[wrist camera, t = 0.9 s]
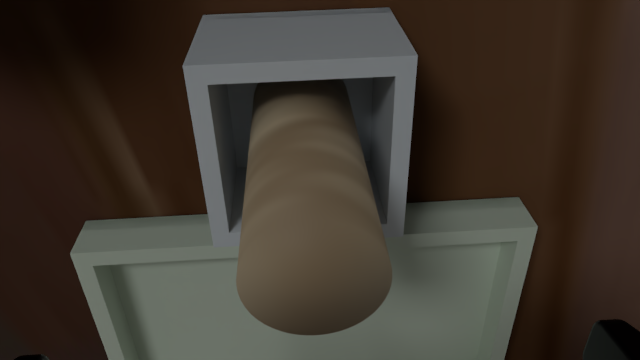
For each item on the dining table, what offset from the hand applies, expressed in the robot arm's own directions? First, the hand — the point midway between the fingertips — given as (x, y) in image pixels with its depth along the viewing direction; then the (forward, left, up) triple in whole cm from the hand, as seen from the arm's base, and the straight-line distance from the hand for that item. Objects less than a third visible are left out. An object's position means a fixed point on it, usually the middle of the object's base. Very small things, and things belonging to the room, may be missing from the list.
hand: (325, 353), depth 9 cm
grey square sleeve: (0, 0, -10) cm, 10 cm away
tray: (0, +10, -10) cm, 14 cm away
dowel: (0, 0, -10) cm, 10 cm away
